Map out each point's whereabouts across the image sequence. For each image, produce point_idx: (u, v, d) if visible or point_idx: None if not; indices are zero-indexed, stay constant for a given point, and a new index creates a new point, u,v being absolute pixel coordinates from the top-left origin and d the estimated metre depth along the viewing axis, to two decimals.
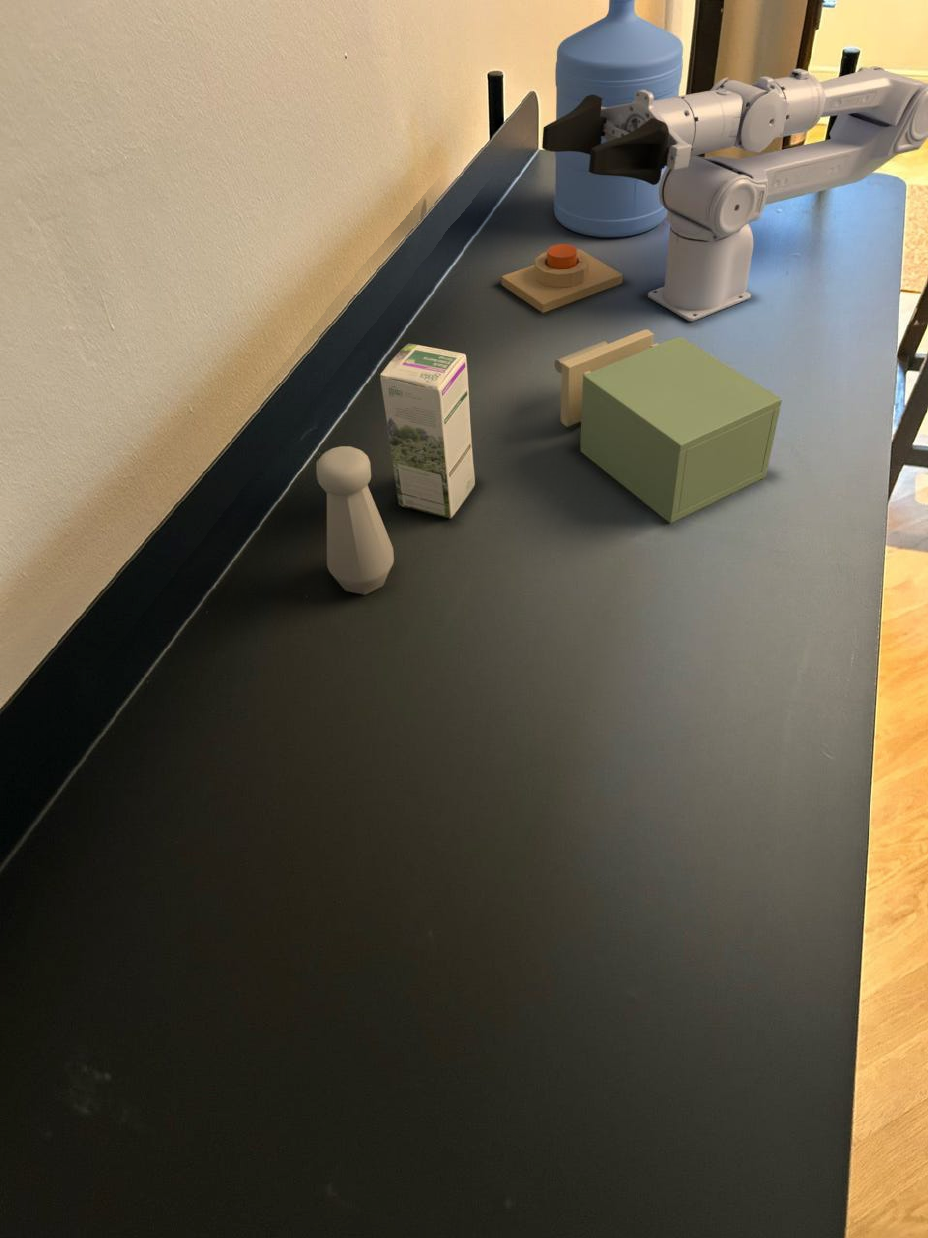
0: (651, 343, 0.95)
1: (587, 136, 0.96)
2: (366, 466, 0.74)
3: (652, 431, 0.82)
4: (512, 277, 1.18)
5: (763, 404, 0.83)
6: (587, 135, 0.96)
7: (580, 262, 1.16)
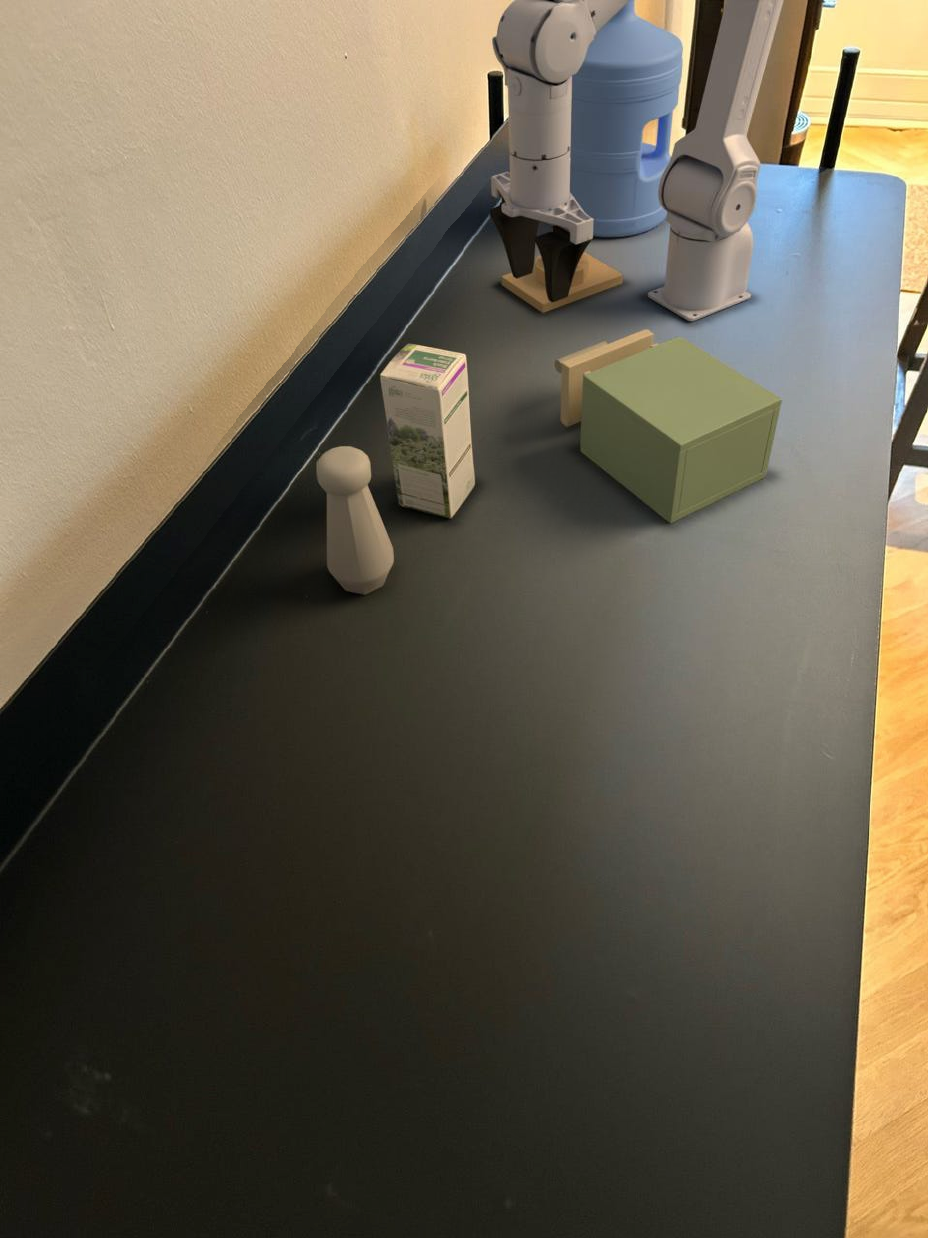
0: (651, 343, 0.95)
1: (526, 224, 0.97)
2: (366, 466, 0.74)
3: (652, 431, 0.82)
4: (512, 277, 1.18)
5: (763, 404, 0.83)
6: (526, 225, 0.97)
7: (580, 262, 1.16)
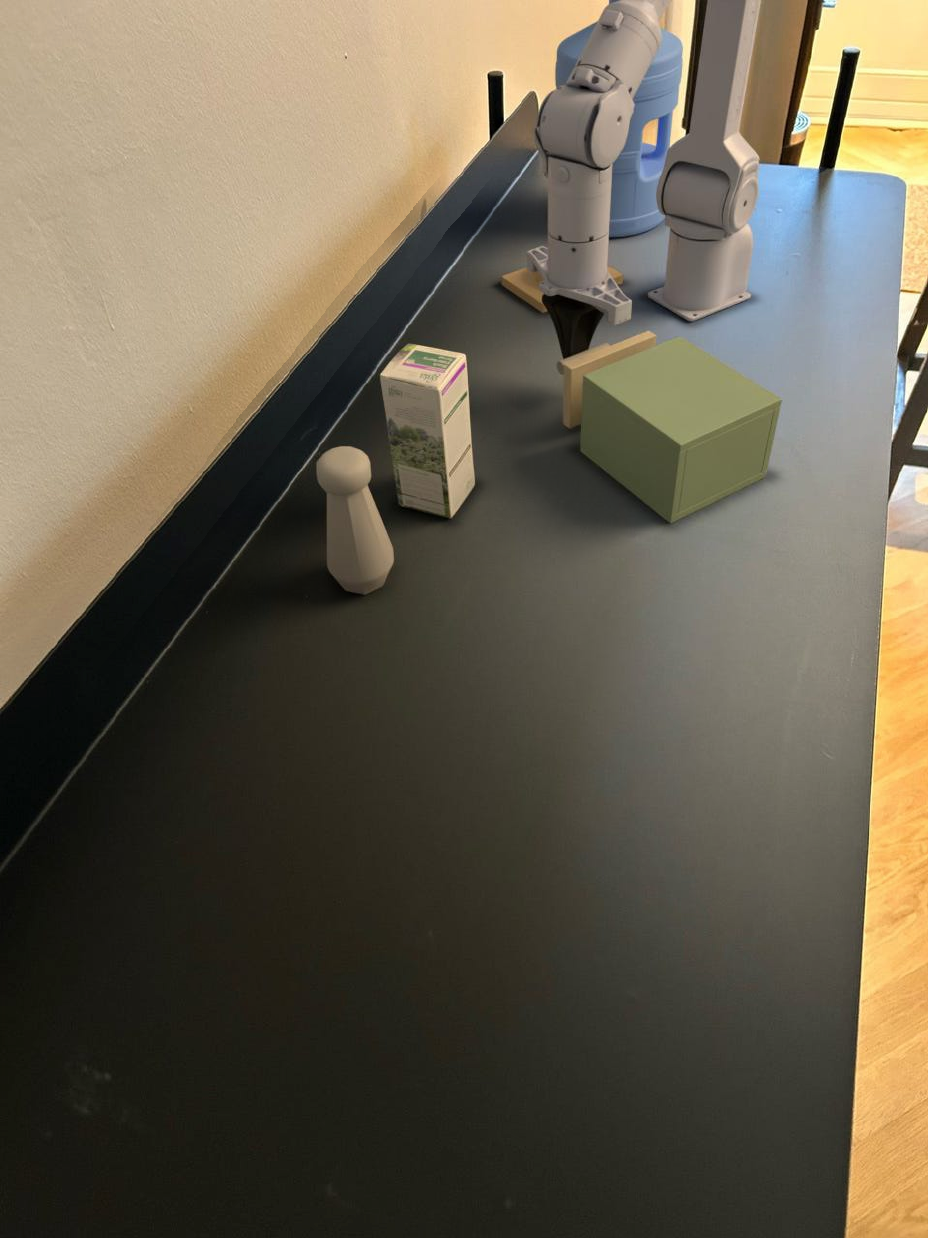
0: (653, 345, 0.94)
1: None
2: (366, 466, 0.74)
3: (652, 431, 0.82)
4: (512, 277, 1.18)
5: (763, 404, 0.83)
6: None
7: None
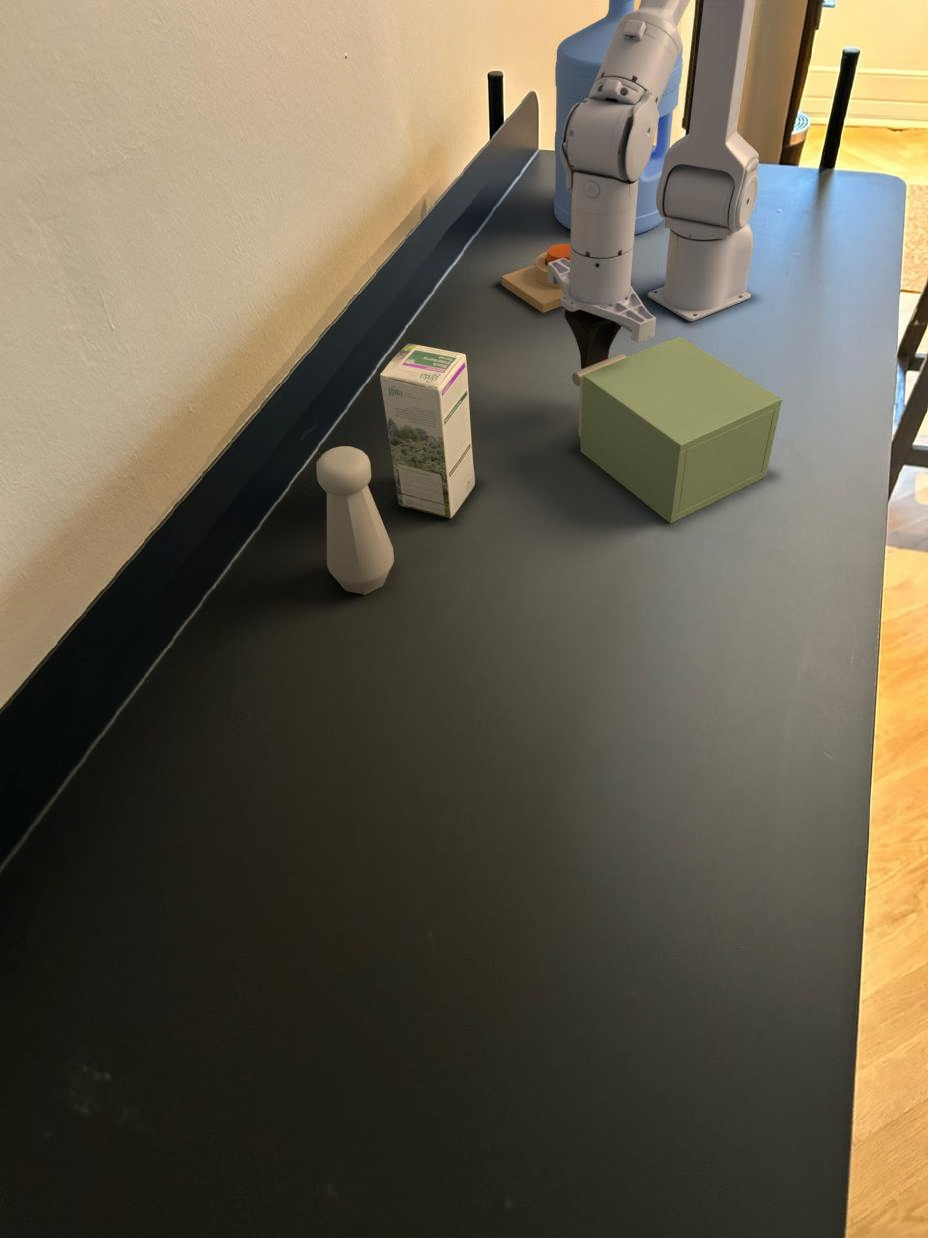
0: None
1: (602, 325, 0.93)
2: (366, 466, 0.74)
3: (652, 431, 0.82)
4: (512, 277, 1.18)
5: (763, 404, 0.83)
6: (601, 326, 0.93)
7: None
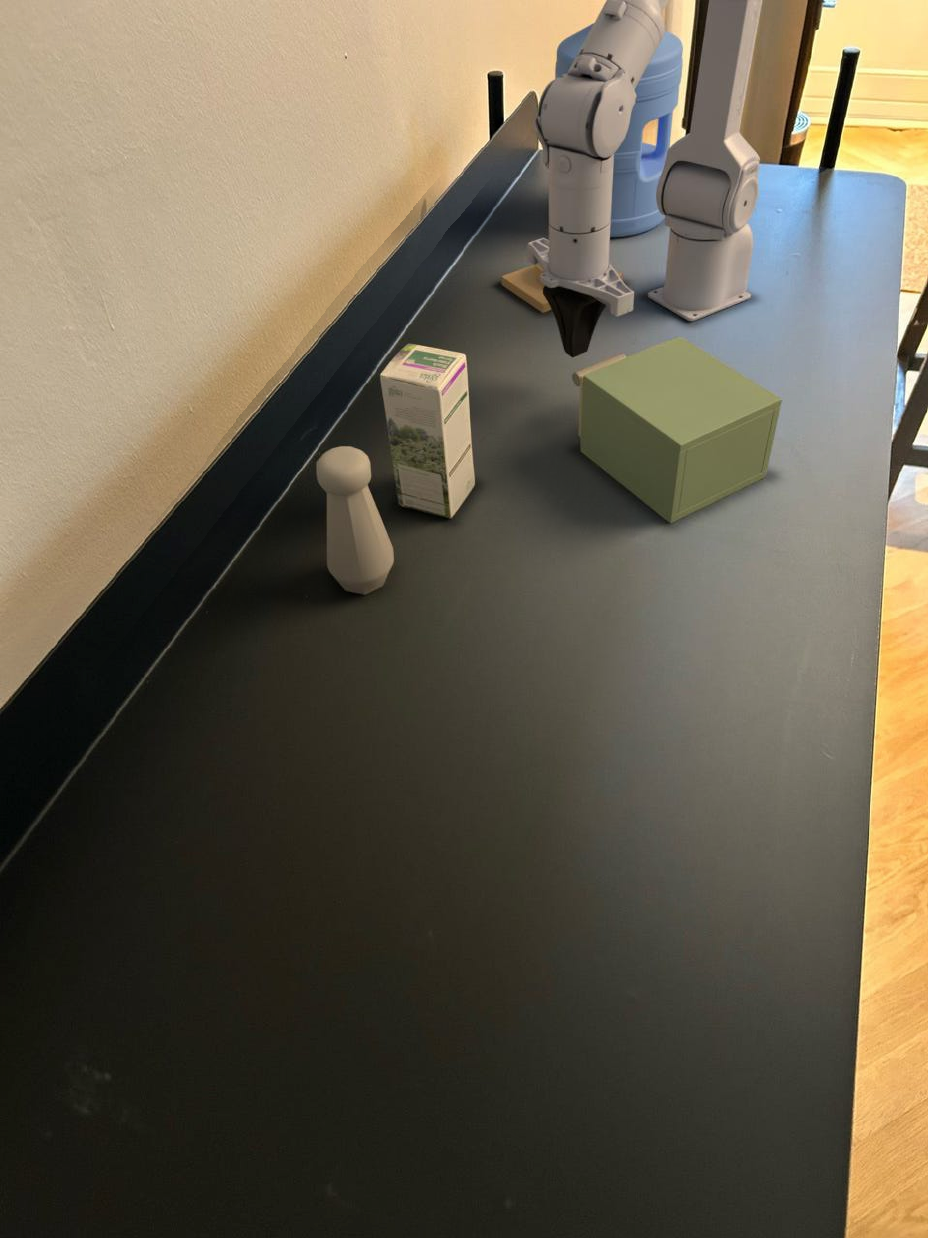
0: None
1: None
2: (366, 466, 0.74)
3: (652, 431, 0.82)
4: (512, 277, 1.18)
5: (763, 404, 0.83)
6: None
7: None
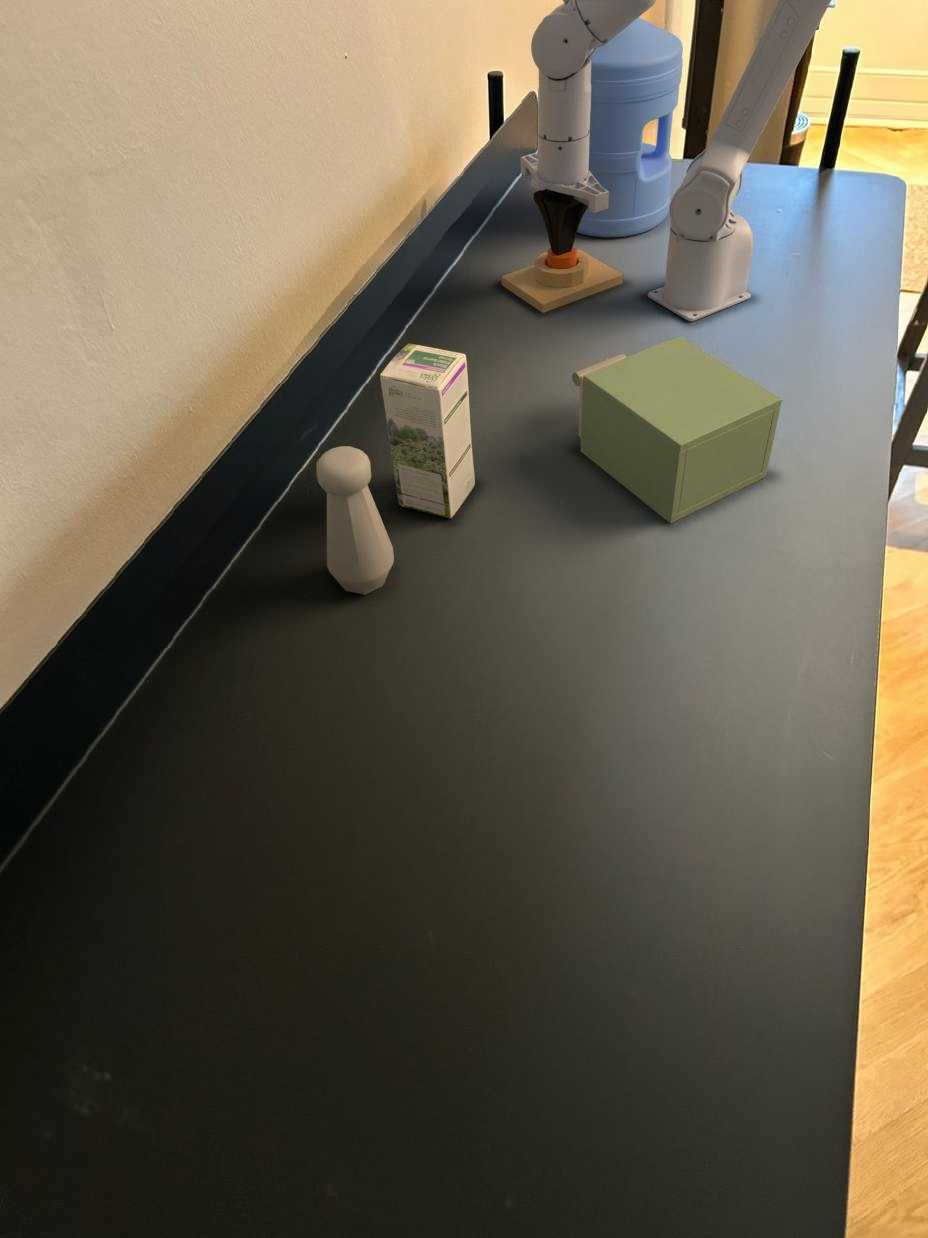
0: None
1: None
2: (366, 466, 0.74)
3: (652, 431, 0.82)
4: (512, 277, 1.18)
5: (763, 404, 0.83)
6: None
7: (580, 262, 1.16)
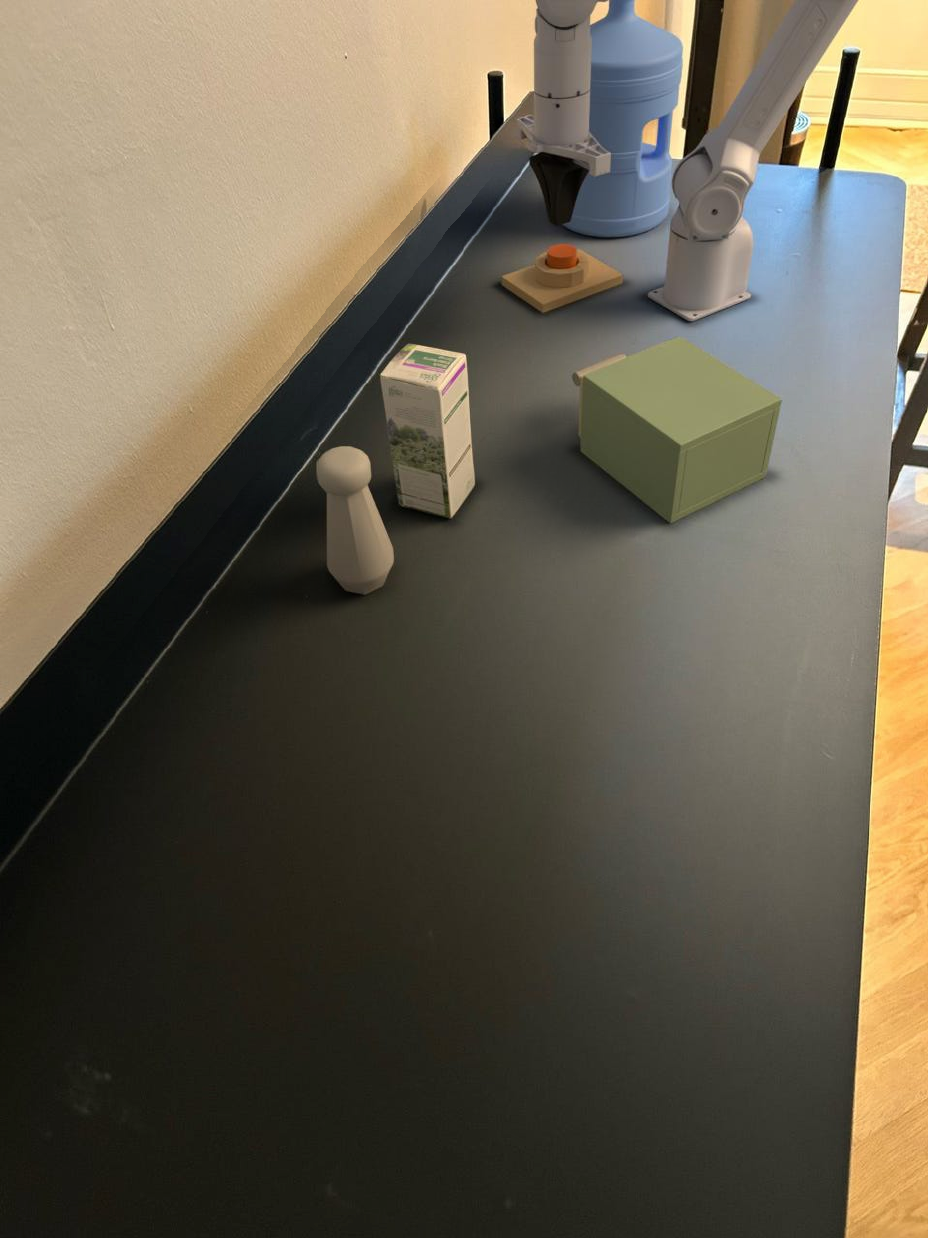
0: None
1: None
2: (366, 466, 0.74)
3: (652, 431, 0.82)
4: (512, 277, 1.18)
5: (763, 404, 0.83)
6: None
7: (580, 262, 1.16)
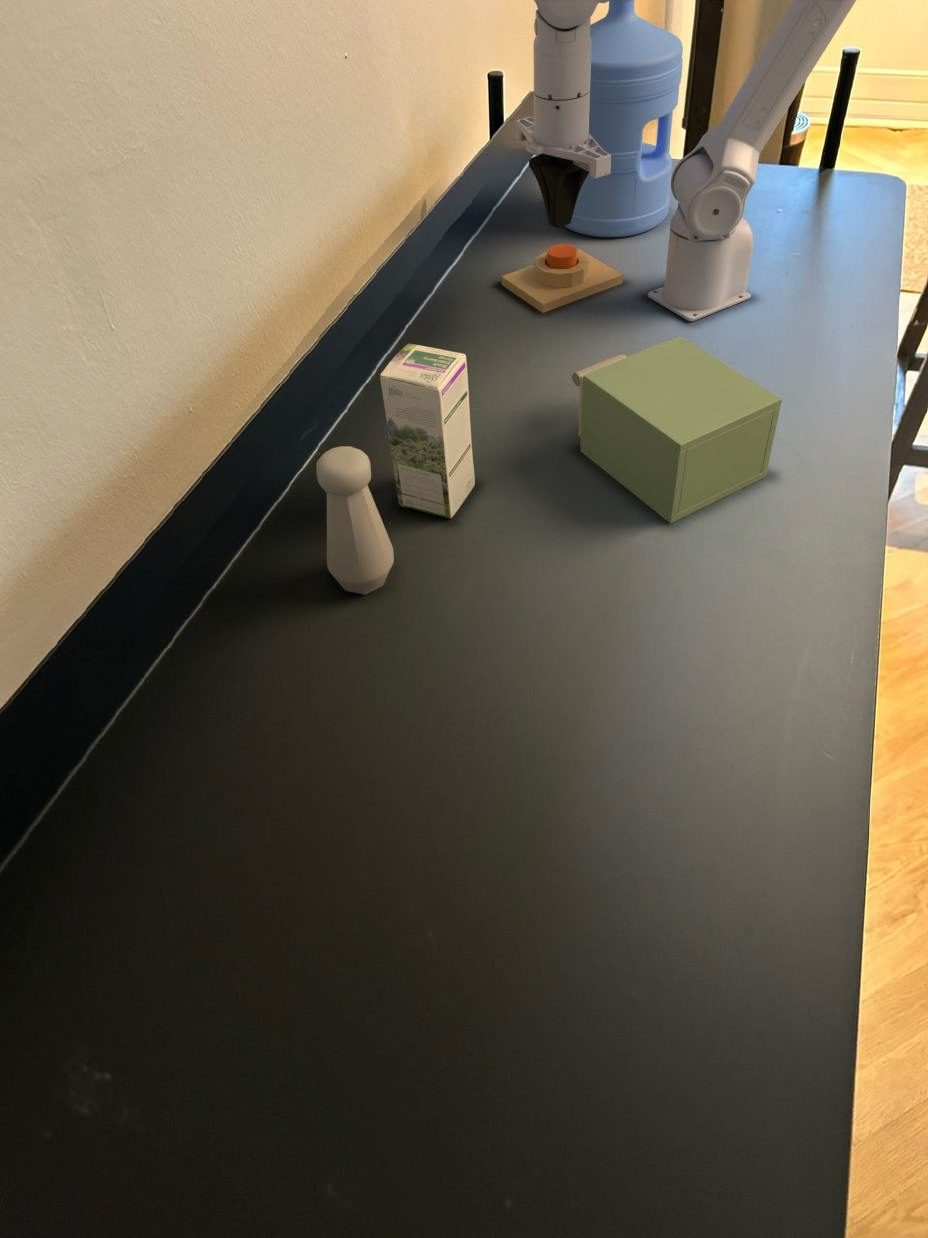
0: None
1: None
2: (366, 466, 0.74)
3: (652, 431, 0.82)
4: (512, 277, 1.18)
5: (763, 404, 0.83)
6: None
7: (580, 262, 1.16)
